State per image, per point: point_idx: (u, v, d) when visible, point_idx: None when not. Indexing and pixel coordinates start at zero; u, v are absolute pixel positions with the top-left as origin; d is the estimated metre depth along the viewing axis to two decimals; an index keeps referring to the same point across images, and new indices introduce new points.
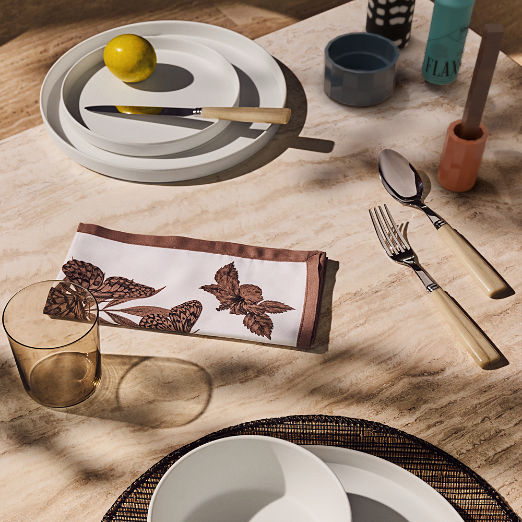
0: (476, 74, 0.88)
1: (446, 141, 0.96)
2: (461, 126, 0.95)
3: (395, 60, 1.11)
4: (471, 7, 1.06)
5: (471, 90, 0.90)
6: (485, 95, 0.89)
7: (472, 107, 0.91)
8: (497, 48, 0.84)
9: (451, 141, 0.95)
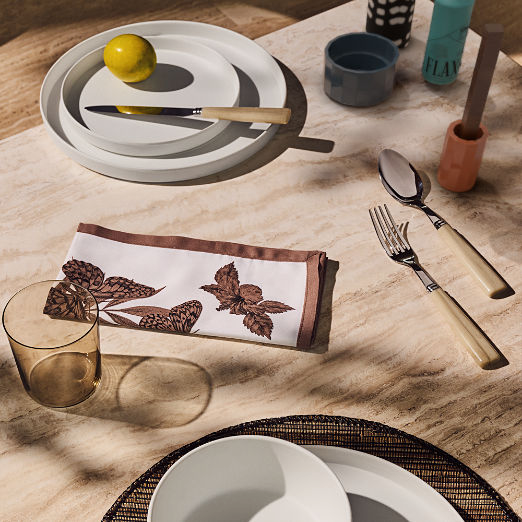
0: (476, 74, 0.88)
1: (446, 141, 0.96)
2: (461, 126, 0.95)
3: (395, 60, 1.11)
4: (471, 7, 1.06)
5: (471, 90, 0.90)
6: (485, 95, 0.89)
7: (472, 107, 0.91)
8: (497, 48, 0.84)
9: (451, 141, 0.95)
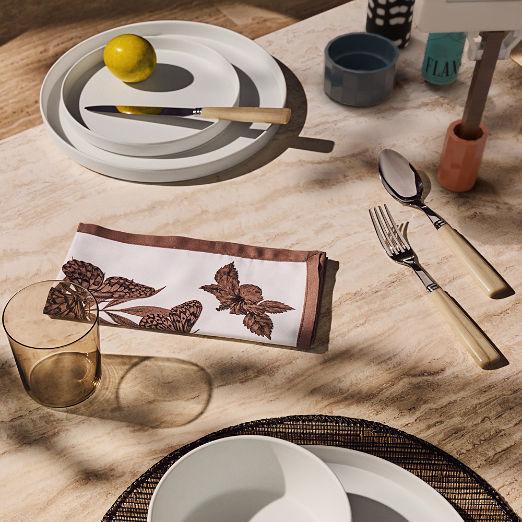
0: (476, 74, 0.88)
1: (446, 141, 0.96)
2: (461, 126, 0.95)
3: (395, 60, 1.11)
4: None
5: (471, 90, 0.90)
6: (485, 95, 0.89)
7: (472, 107, 0.91)
8: (497, 48, 0.84)
9: (451, 141, 0.95)
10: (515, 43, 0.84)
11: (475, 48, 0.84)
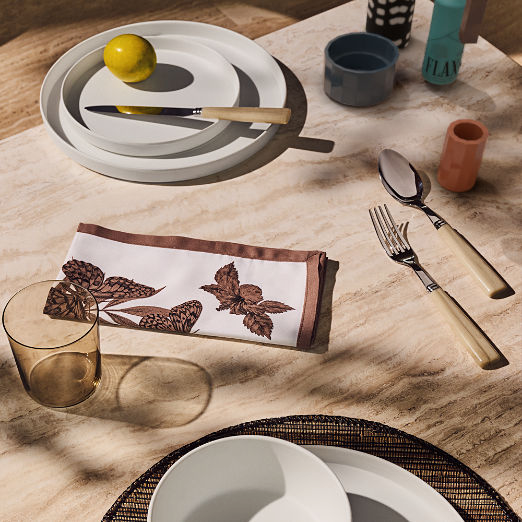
0: None
1: (446, 141, 0.96)
2: None
3: (395, 60, 1.11)
4: None
5: None
6: None
7: None
8: None
9: (451, 141, 0.95)
10: None
11: None
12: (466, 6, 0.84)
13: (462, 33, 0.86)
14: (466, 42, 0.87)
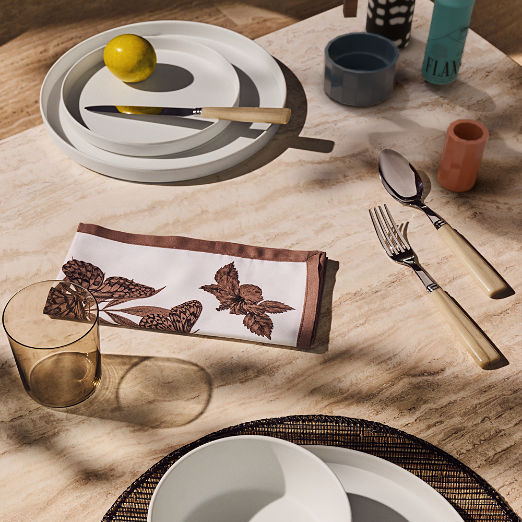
0: None
1: (446, 141, 0.96)
2: None
3: (395, 60, 1.11)
4: (471, 7, 1.06)
5: None
6: None
7: None
8: None
9: (451, 141, 0.95)
10: None
11: None
12: None
13: (344, 9, 1.06)
14: (347, 16, 1.07)
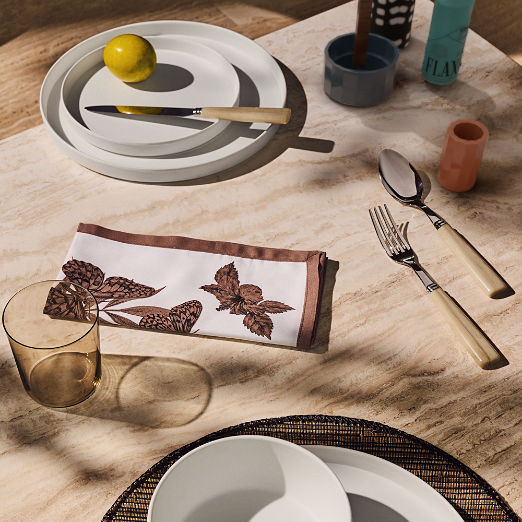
0: None
1: (446, 141, 0.96)
2: (357, 15, 1.10)
3: (395, 60, 1.11)
4: (471, 7, 1.06)
5: None
6: None
7: None
8: None
9: (451, 141, 0.95)
10: None
11: None
12: (355, 40, 1.13)
13: (353, 60, 1.15)
14: (357, 66, 1.16)
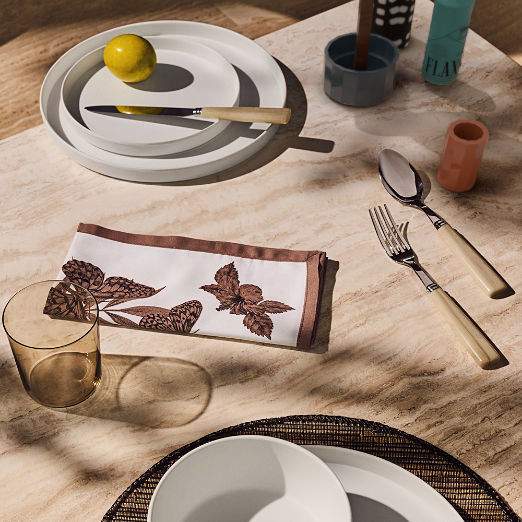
0: None
1: (446, 141, 0.96)
2: (356, 37, 1.11)
3: (395, 60, 1.11)
4: (471, 7, 1.06)
5: (359, 3, 1.06)
6: (371, 7, 1.05)
7: (361, 18, 1.07)
8: None
9: (451, 141, 0.95)
10: None
11: None
12: (354, 61, 1.14)
13: None
14: None
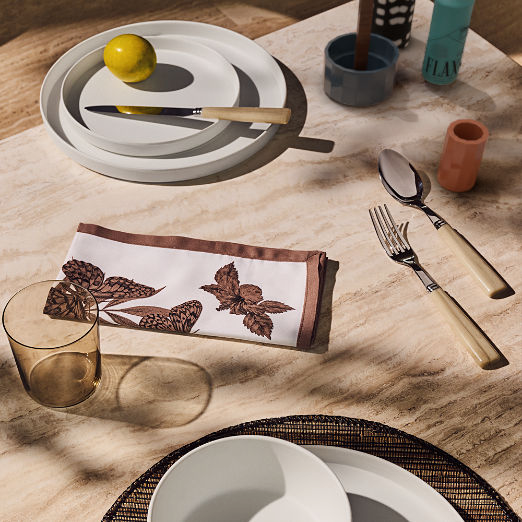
0: None
1: (446, 141, 0.96)
2: (356, 37, 1.11)
3: (395, 60, 1.11)
4: (471, 7, 1.06)
5: (359, 3, 1.06)
6: (371, 7, 1.05)
7: (361, 18, 1.07)
8: None
9: (451, 141, 0.95)
10: None
11: None
12: (354, 61, 1.14)
13: None
14: None
